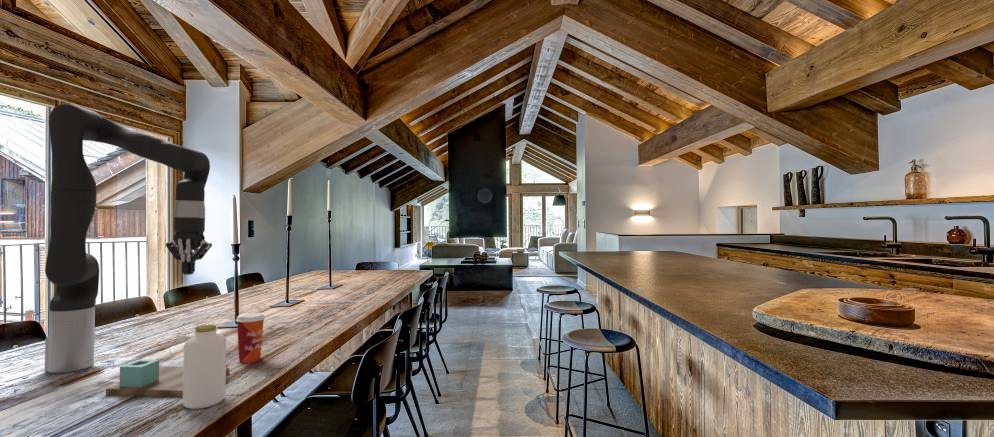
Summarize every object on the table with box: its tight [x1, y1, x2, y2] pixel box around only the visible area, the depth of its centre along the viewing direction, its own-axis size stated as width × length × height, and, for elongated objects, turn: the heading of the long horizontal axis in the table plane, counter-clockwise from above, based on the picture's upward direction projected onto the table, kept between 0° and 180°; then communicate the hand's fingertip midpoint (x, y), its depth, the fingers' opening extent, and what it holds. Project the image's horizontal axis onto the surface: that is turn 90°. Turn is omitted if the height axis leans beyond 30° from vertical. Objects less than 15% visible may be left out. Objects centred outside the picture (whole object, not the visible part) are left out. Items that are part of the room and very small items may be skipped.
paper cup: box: [235, 312, 266, 364], centre depth 129 cm, size 8×8×14 cm
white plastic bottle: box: [182, 324, 227, 410], centre depth 98 cm, size 8×8×18 cm
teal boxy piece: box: [119, 359, 160, 387], centre depth 106 cm, size 5×5×5 cm
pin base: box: [105, 364, 230, 398], centre depth 110 cm, size 20×16×6 cm
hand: (188, 274), depth 124 cm, fingers closed
